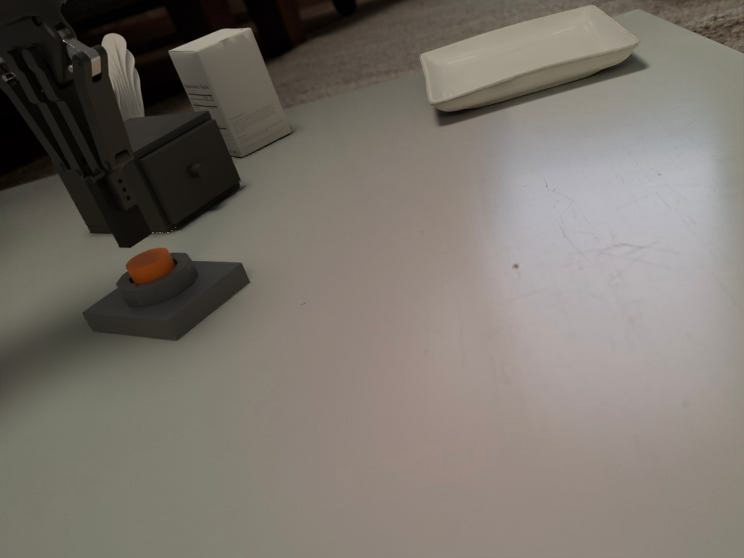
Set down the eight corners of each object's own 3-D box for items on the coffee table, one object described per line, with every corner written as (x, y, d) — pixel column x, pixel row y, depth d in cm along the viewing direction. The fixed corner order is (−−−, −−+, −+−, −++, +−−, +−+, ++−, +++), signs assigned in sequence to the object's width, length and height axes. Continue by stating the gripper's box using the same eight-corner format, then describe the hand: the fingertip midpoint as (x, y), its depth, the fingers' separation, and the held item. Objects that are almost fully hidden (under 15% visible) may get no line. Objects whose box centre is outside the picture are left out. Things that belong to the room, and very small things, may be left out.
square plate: (424, 76, 129) (417, 51, 127) (597, 27, 128) (593, 0, 126) (435, 128, 106) (427, 98, 104) (646, 68, 105) (642, 36, 103)
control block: (250, 282, 80) (234, 245, 78) (177, 341, 74) (156, 302, 72) (167, 277, 87) (150, 243, 85) (92, 332, 80) (71, 296, 78)
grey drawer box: (240, 185, 107) (208, 110, 101) (168, 233, 98) (129, 154, 93) (163, 187, 114) (129, 118, 109) (90, 232, 106) (50, 159, 100)
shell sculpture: (106, 175, 127) (44, 55, 117) (133, 154, 133) (77, 39, 124) (153, 166, 125) (94, 43, 115) (178, 145, 131) (124, 27, 122)
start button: (184, 264, 79) (176, 247, 78) (153, 286, 76) (144, 269, 75) (156, 262, 81) (148, 246, 80) (125, 284, 78) (116, 268, 77)
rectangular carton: (262, 129, 127) (221, 27, 119) (293, 132, 121) (253, 26, 113) (211, 153, 123) (165, 50, 115) (240, 159, 116) (195, 49, 108)
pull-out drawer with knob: (248, 180, 104) (222, 118, 100) (182, 224, 97) (151, 159, 92) (168, 182, 112) (141, 125, 108) (102, 223, 104) (70, 164, 100)
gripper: (86, -62, 63) (213, 221, 76) (-11, -36, 70) (121, 220, 82) (2, -35, 58) (153, 264, 71) (-95, -10, 65) (59, 259, 77)
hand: (135, 240), depth 77 cm, fingers closed
